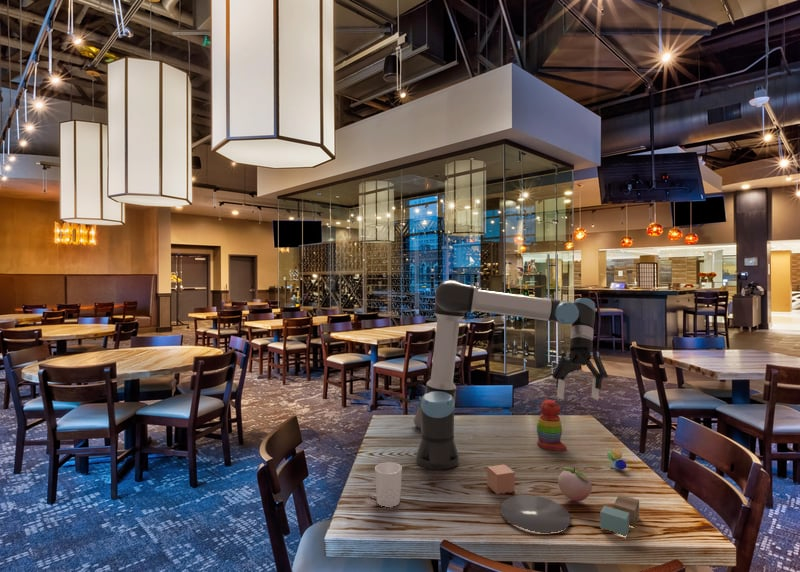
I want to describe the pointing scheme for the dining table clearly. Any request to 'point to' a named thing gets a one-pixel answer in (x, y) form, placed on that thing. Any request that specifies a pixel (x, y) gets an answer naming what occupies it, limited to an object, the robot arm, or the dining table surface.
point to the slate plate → (535, 513)
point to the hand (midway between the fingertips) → (576, 398)
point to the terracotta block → (500, 479)
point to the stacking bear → (550, 427)
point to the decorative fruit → (574, 484)
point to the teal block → (614, 520)
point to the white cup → (388, 483)
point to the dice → (614, 456)
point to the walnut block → (628, 507)
